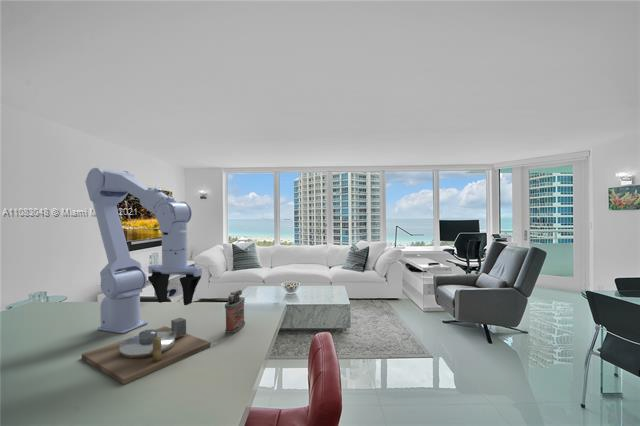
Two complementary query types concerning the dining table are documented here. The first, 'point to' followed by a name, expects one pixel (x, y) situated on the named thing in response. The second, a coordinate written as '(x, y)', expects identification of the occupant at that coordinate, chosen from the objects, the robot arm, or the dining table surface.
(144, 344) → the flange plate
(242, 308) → the lighter
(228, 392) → the dining table surface
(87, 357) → the walnut board
